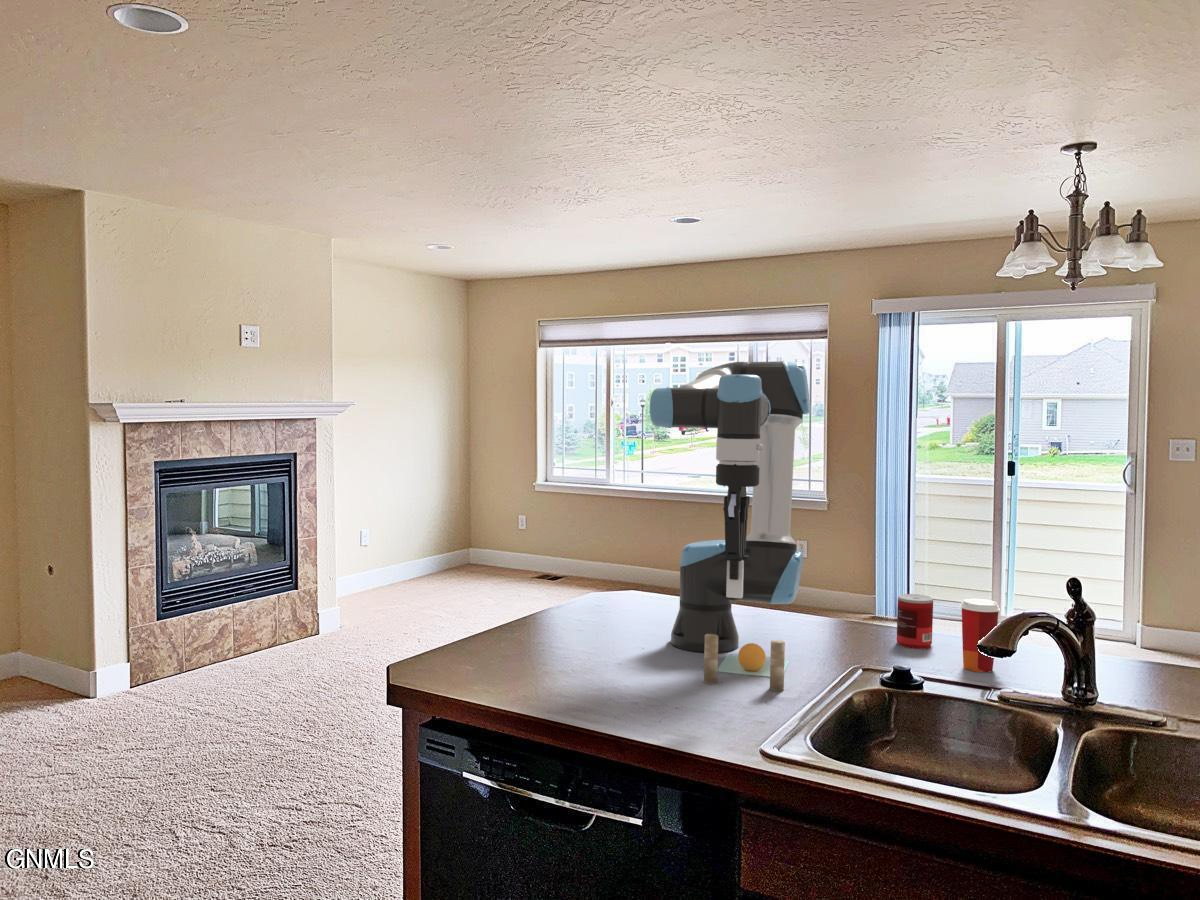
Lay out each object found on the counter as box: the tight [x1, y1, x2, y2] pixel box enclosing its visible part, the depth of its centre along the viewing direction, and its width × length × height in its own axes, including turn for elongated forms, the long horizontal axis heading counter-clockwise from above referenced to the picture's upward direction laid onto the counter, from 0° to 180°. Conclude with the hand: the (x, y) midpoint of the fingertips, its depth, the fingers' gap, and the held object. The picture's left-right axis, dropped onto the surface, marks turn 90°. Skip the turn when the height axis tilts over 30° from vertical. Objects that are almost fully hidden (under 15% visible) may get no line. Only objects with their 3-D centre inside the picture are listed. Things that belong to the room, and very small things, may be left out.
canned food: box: [896, 593, 934, 650], centre depth 202 cm, size 8×8×11 cm
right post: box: [769, 639, 786, 692], centre depth 167 cm, size 3×3×9 cm
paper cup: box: [958, 598, 1001, 673], centre depth 183 cm, size 8×8×14 cm
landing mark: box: [717, 654, 790, 678], centre depth 182 cm, size 13×13×1 cm
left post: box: [703, 634, 719, 685], centre depth 170 cm, size 3×3×9 cm
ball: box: [737, 642, 767, 671], centre depth 179 cm, size 6×6×6 cm
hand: (734, 596), depth 156 cm, fingers closed
